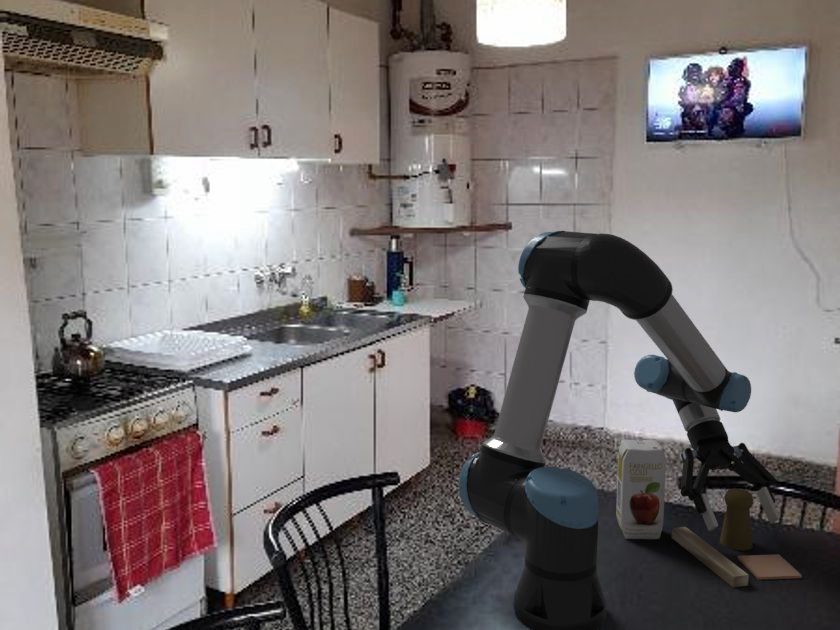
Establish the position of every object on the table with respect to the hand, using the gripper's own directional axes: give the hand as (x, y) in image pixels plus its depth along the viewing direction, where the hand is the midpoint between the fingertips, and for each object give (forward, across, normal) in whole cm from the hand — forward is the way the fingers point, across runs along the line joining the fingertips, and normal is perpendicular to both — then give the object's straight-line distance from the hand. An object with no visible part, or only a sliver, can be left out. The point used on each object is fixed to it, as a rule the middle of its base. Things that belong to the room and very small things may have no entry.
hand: (744, 524), depth 148 cm
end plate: (+9, 0, +2) cm, 9 cm away
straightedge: (+5, +10, -2) cm, 11 cm away
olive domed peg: (+2, 0, -5) cm, 6 cm away
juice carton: (-4, +16, -12) cm, 20 cm away
